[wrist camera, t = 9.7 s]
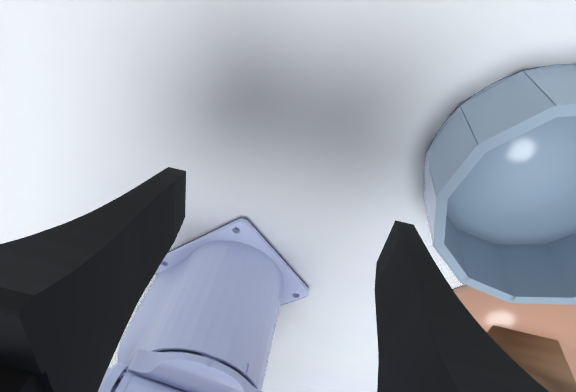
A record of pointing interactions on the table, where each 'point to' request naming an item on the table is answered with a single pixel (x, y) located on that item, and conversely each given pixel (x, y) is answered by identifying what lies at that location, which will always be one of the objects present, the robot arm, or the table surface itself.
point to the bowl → (509, 188)
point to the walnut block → (537, 358)
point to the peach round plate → (525, 318)
